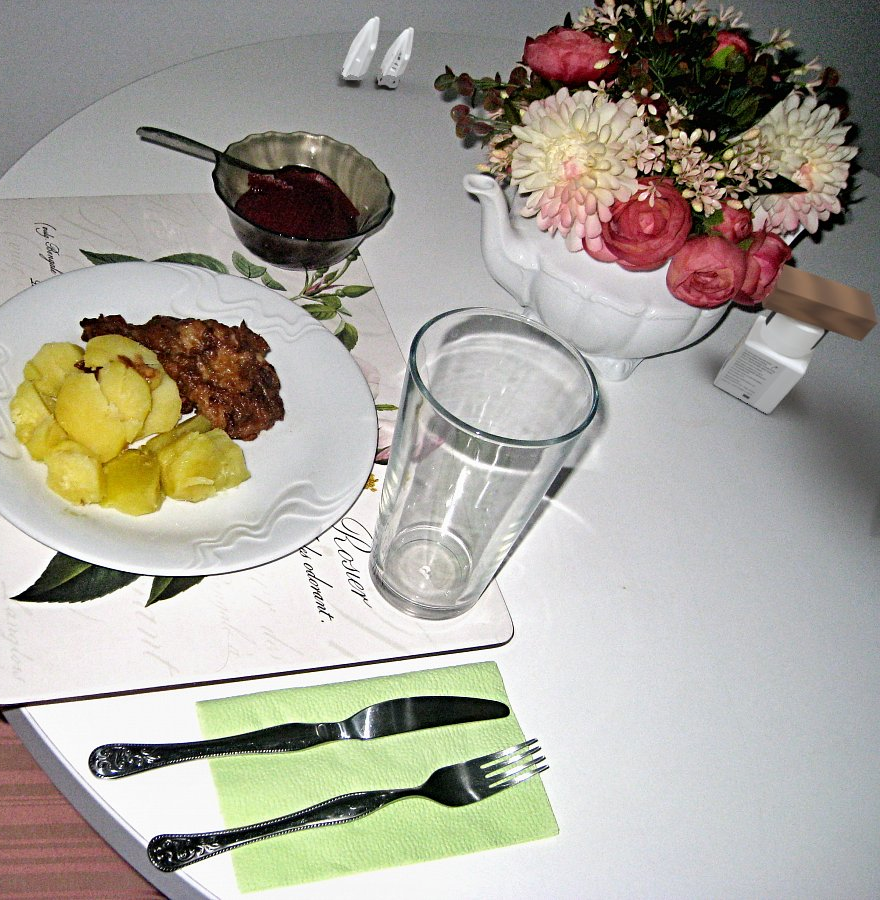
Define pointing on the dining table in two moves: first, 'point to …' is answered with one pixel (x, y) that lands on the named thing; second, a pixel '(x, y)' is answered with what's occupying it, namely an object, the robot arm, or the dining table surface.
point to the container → (769, 360)
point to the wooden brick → (822, 303)
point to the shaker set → (365, 49)
